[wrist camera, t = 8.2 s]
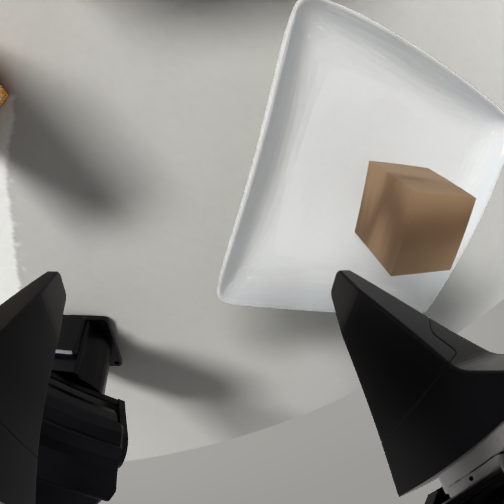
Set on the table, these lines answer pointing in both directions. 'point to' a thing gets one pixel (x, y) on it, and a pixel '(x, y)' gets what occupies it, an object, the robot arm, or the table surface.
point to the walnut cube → (412, 218)
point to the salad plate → (349, 158)
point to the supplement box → (2, 95)
